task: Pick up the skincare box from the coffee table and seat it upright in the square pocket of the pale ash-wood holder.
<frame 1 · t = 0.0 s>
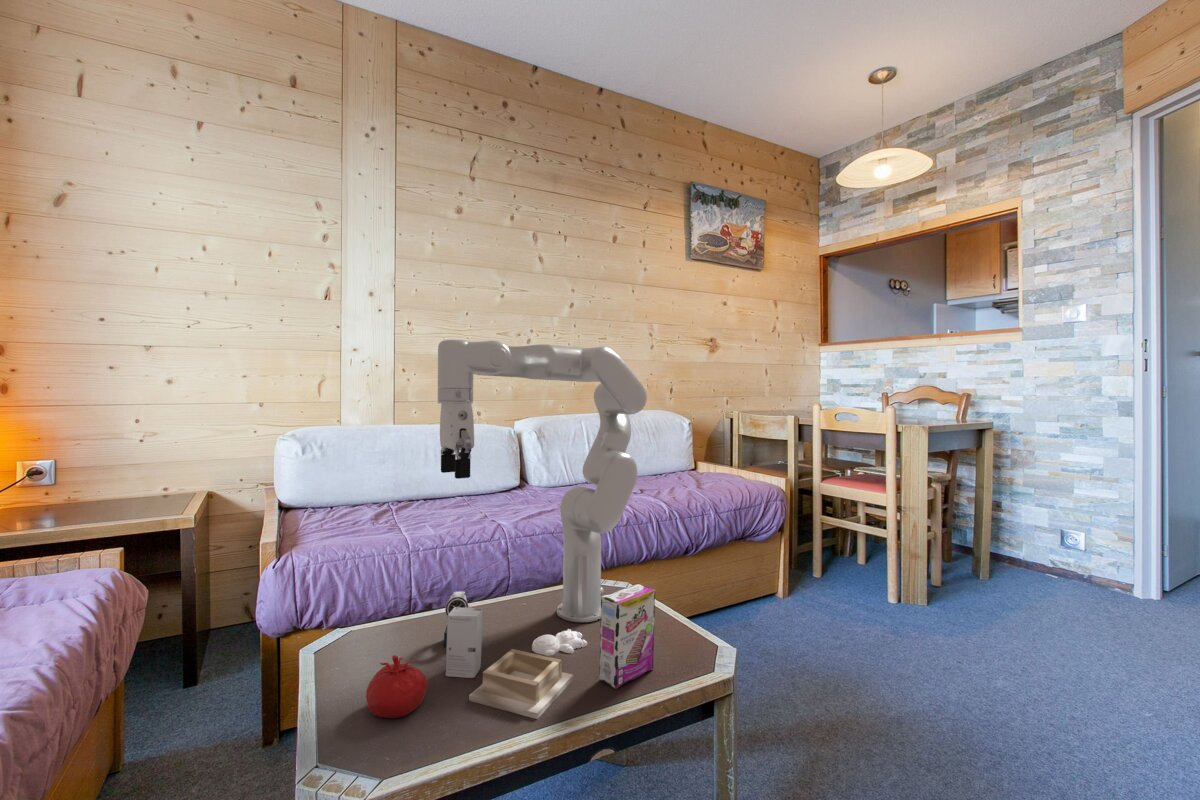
hand: (455, 474, 120), 37 cm above the table, tool pointing down, fingers open, 9 cm apart
astronaut figurine: (559, 648, 121), on the table
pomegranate: (397, 709, 96), on the table
candy bar box: (627, 676, 108), on the table
skincare box: (464, 673, 109), on the table
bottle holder: (522, 689, 103), on the table
watch: (458, 643, 122), on the table
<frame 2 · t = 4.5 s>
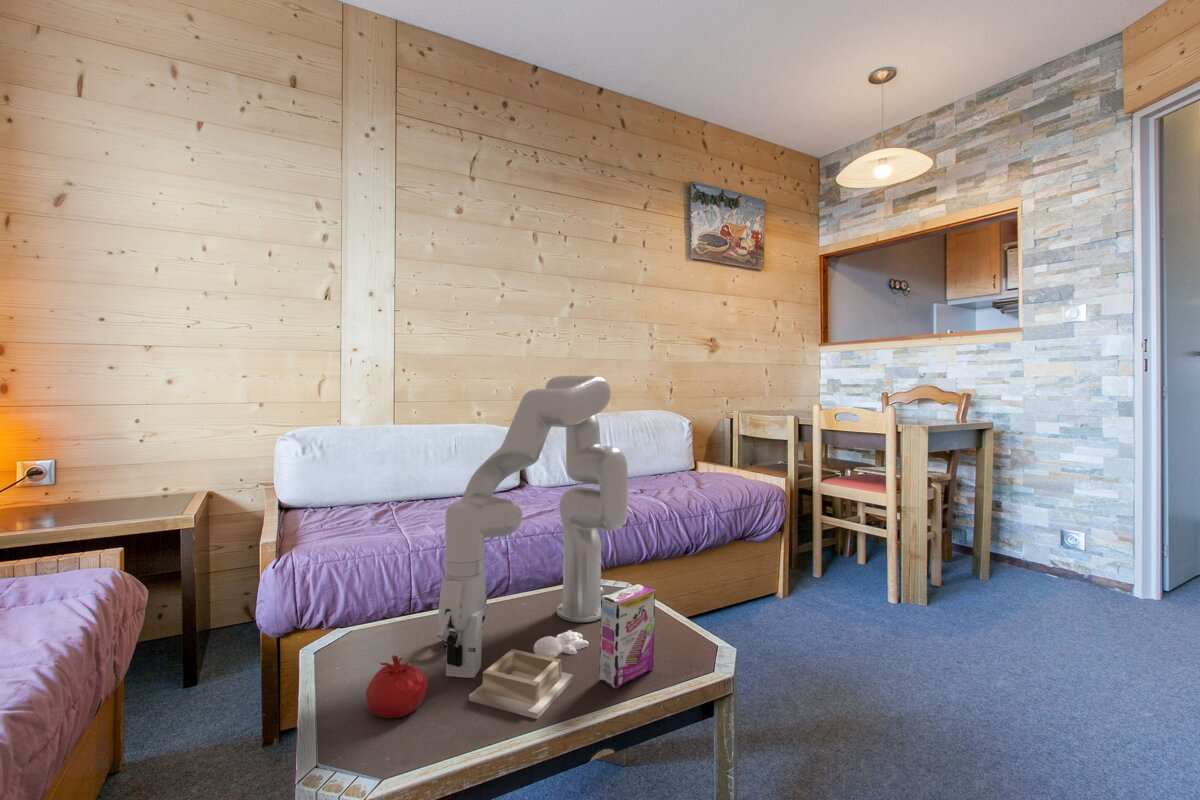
hand: (464, 656, 109), 3 cm above the table, tool pointing down, fingers closed on skincare box, 5 cm apart
skincare box: (464, 672, 109), on the table, touching gripper
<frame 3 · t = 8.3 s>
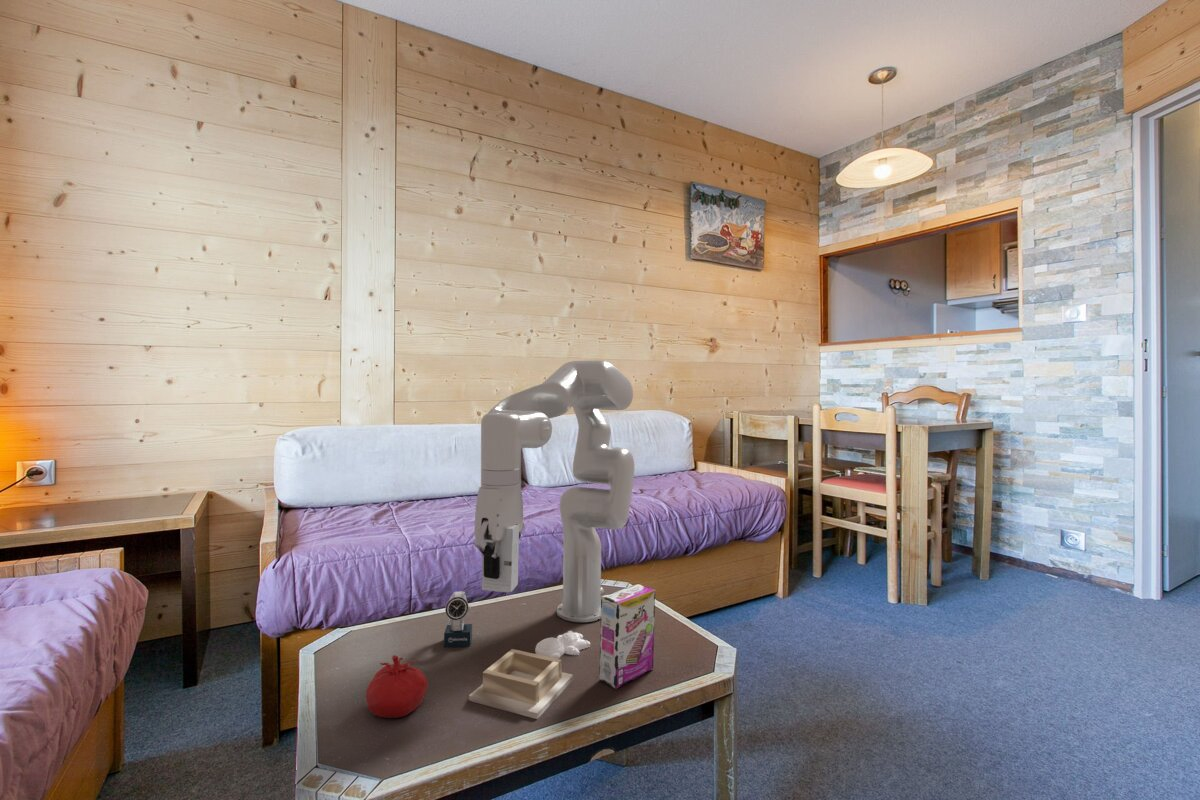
hand: (500, 571, 105), 21 cm above the table, tool pointing down, fingers closed on skincare box, 5 cm apart
skincare box: (500, 588, 105), point 18 cm above the table, touching gripper
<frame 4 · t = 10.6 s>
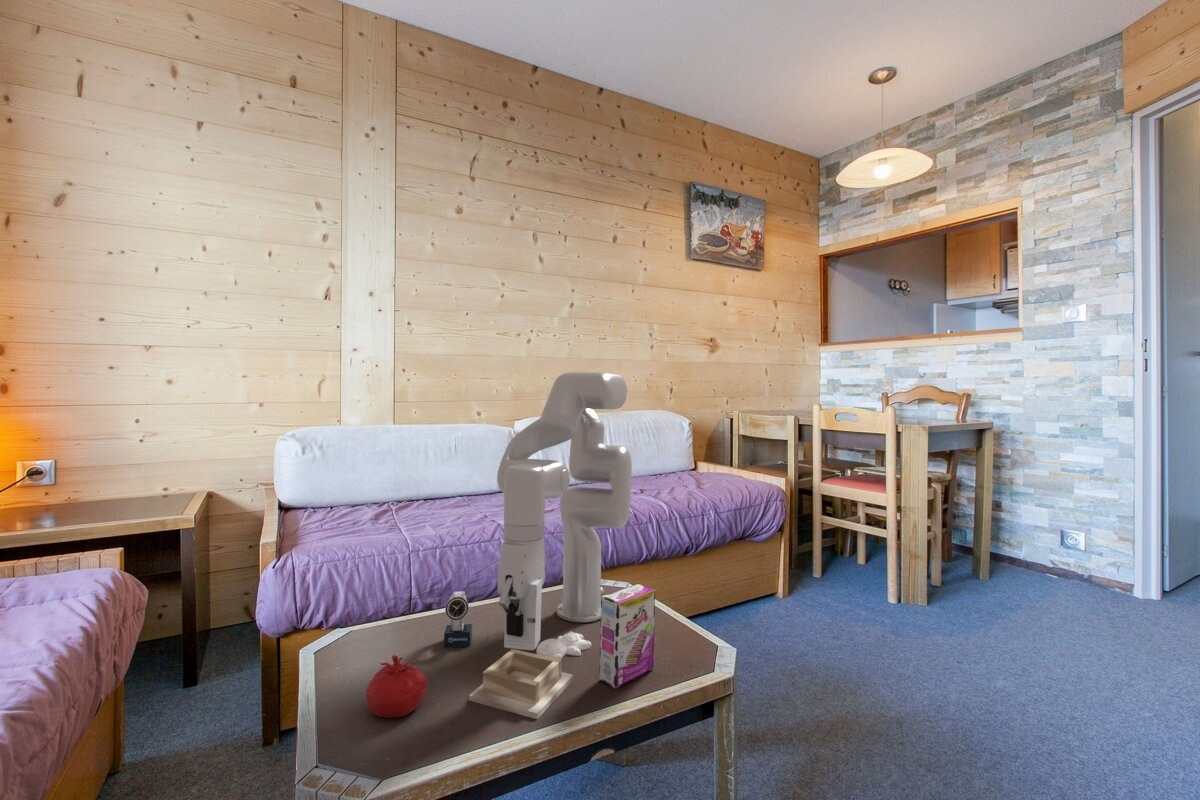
hand: (523, 628, 102), 12 cm above the table, tool pointing down, fingers closed on skincare box, 5 cm apart
skincare box: (523, 645, 102), point 8 cm above the table, touching gripper
when the fingers open (6 cm above the table, at t = 12.5 s): skincare box drops 2 cm, resting on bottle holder.
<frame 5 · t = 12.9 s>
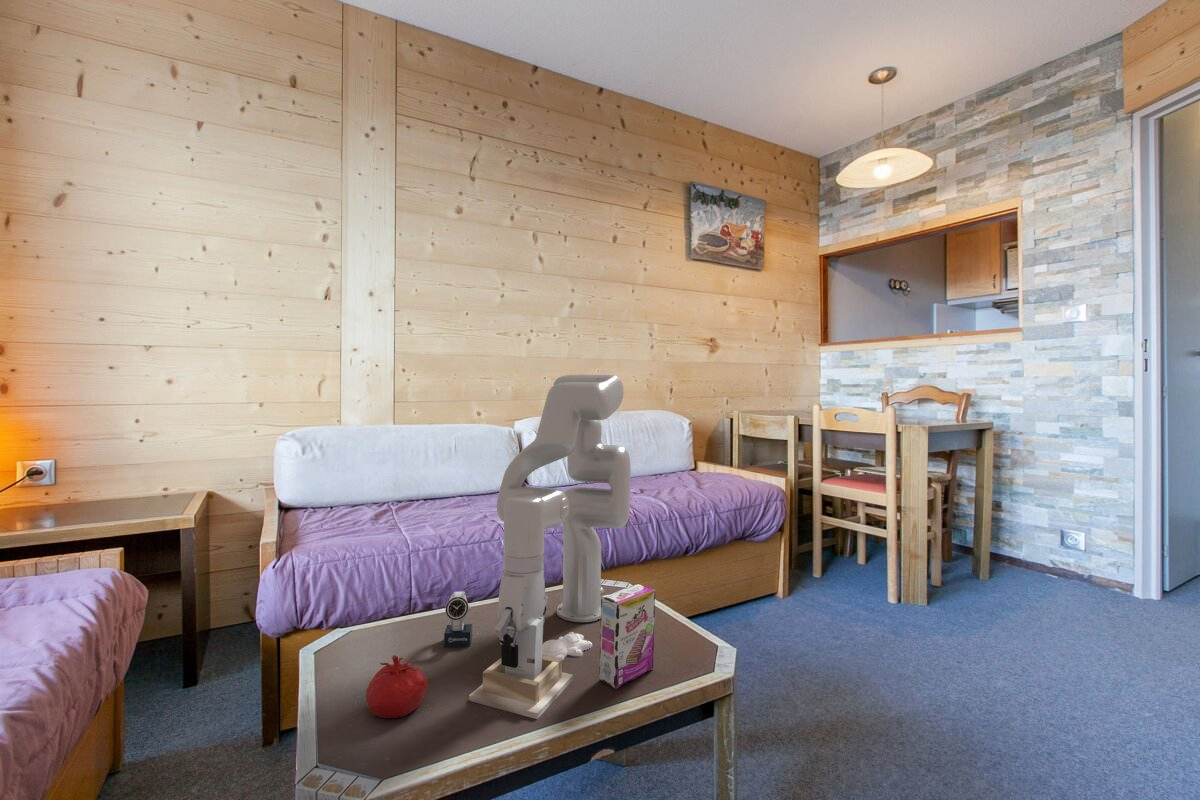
hand: (523, 654, 102), 7 cm above the table, tool pointing down, fingers open, 8 cm apart
skincare box: (524, 684, 103), point 1 cm above the table, touching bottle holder
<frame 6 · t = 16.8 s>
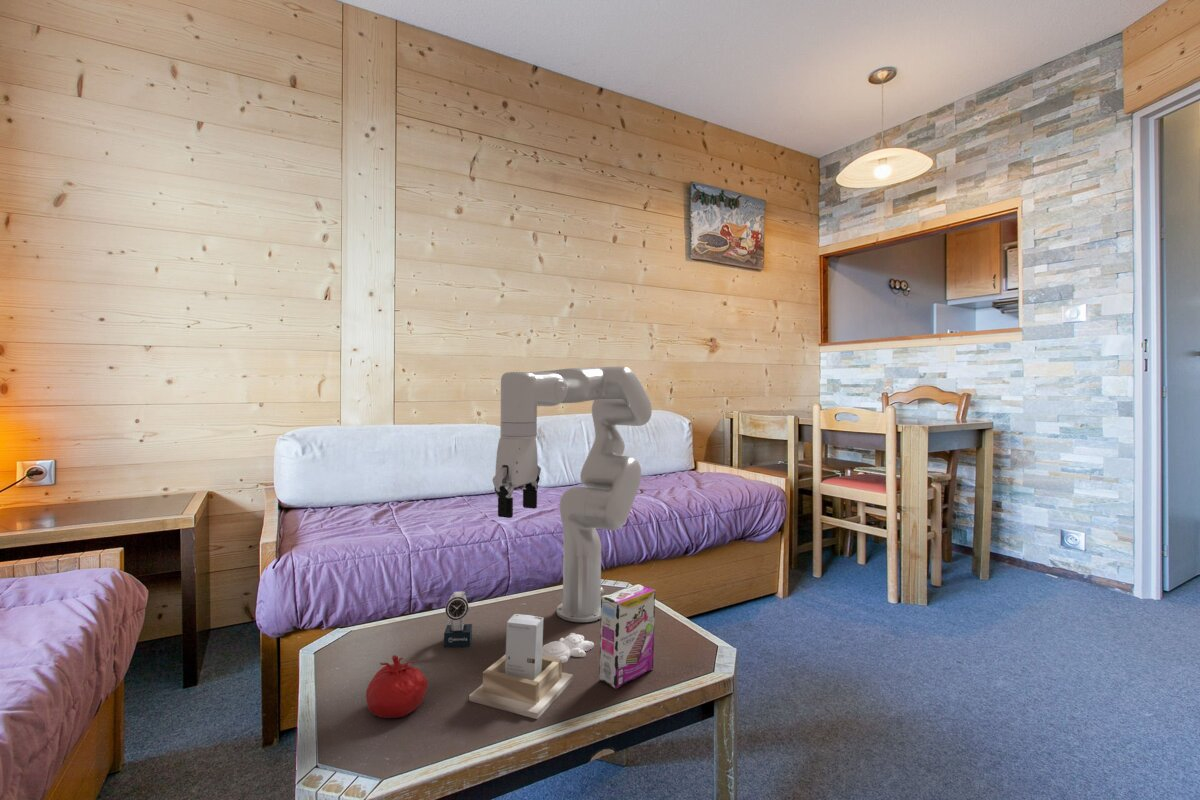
hand: (518, 512, 115), 30 cm above the table, tool pointing down, fingers open, 9 cm apart
at the end: skincare box 0.5 cm off-centre on the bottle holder, point 0.8 cm above the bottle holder's base; skincare box tilted 0°; the gripper is holding nothing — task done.
